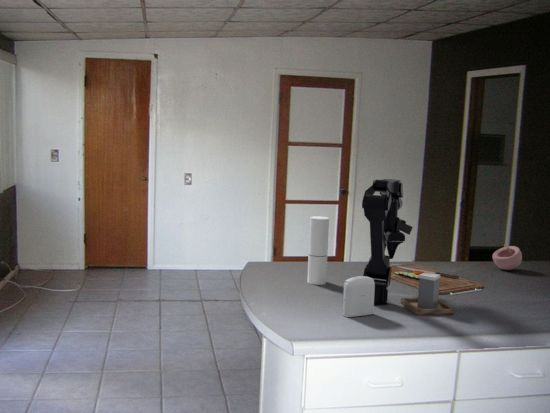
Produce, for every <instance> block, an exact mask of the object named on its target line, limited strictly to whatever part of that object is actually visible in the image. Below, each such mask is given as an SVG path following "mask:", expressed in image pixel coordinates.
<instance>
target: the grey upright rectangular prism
mask: <svg viewBox="0 0 550 413" xmlns="http://www.w3.org/2000/svg"><path fill="white" fill-rule="evenodd" d="M439 281H440V275H439V274H433V273H427V272H424V273H422V274H420V275H419V289H418V293H417V298H418V306H417V307H418V308H422V309H435V308H437V307H438V299H439V295H440V294H439Z"/></svg>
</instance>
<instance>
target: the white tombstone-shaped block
mask: <svg viewBox="0 0 550 413" xmlns="http://www.w3.org/2000/svg"><path fill="white" fill-rule="evenodd" d="M374 291H375V283H374V280H373V278H370V277H366V276H363V275H360V276H359V275H357V276H353V277H350V278H348V279H345V281H344V283H343V292H342V294H343V296H342V297H343V298H342V299H343V300H342V315H343V317H345V318H352V317H360V316H361V317H363V316H369V315H373V314H374V310H375V309H374V307H375V305H374Z"/></svg>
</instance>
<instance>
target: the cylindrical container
mask: <svg viewBox="0 0 550 413" xmlns="http://www.w3.org/2000/svg"><path fill="white" fill-rule="evenodd" d="M329 227H330V218H329V217H327V216H319V215H317V216H315V215H314V216H310V217H309V233H308V234H309V239H308V257H307V258H308V259H307V281H306V282H307V284H311V285H320V286H322V285H326V284H327V270H328V253H329V252H328V247H329Z"/></svg>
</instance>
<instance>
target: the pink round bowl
mask: <svg viewBox="0 0 550 413" xmlns="http://www.w3.org/2000/svg"><path fill="white" fill-rule="evenodd" d="M503 246H504V247H501V248H499V249H496V250H495V251H494V252H493V253H492V261H493V263H494V265H496V267H498V268H499V269H501V270H504V271H512V270H515V269H516V268H518V267H519V266H520V264H521V263H522V260H523V254H522V251H521V250H520V248H519V247H518V246H515V245H509V246H508V245H507V244H503Z"/></svg>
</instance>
